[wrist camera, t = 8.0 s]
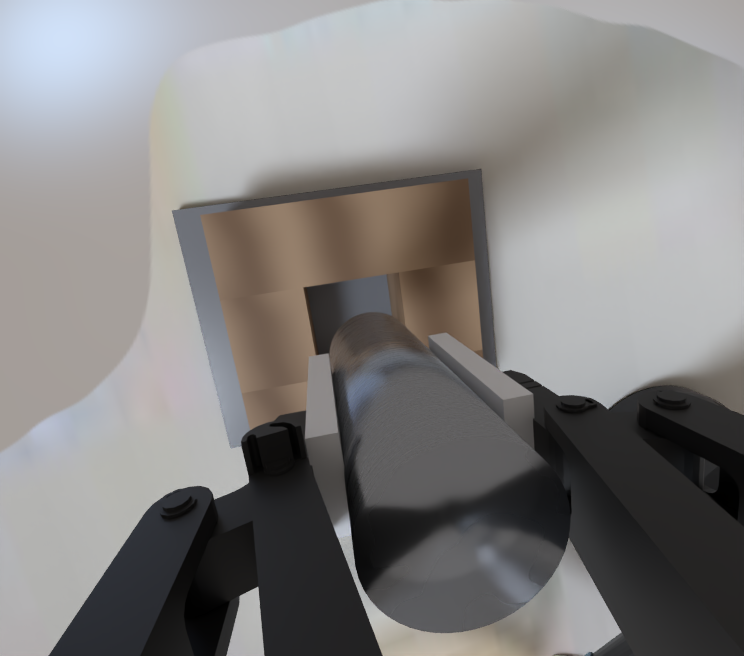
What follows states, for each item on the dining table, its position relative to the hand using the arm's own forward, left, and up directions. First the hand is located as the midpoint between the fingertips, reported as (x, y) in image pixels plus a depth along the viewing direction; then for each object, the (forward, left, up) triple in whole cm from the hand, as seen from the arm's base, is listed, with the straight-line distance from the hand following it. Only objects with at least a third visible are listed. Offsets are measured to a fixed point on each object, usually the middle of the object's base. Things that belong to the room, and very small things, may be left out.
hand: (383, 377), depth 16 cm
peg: (0, 0, -3) cm, 3 cm away
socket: (0, 0, -16) cm, 16 cm away
